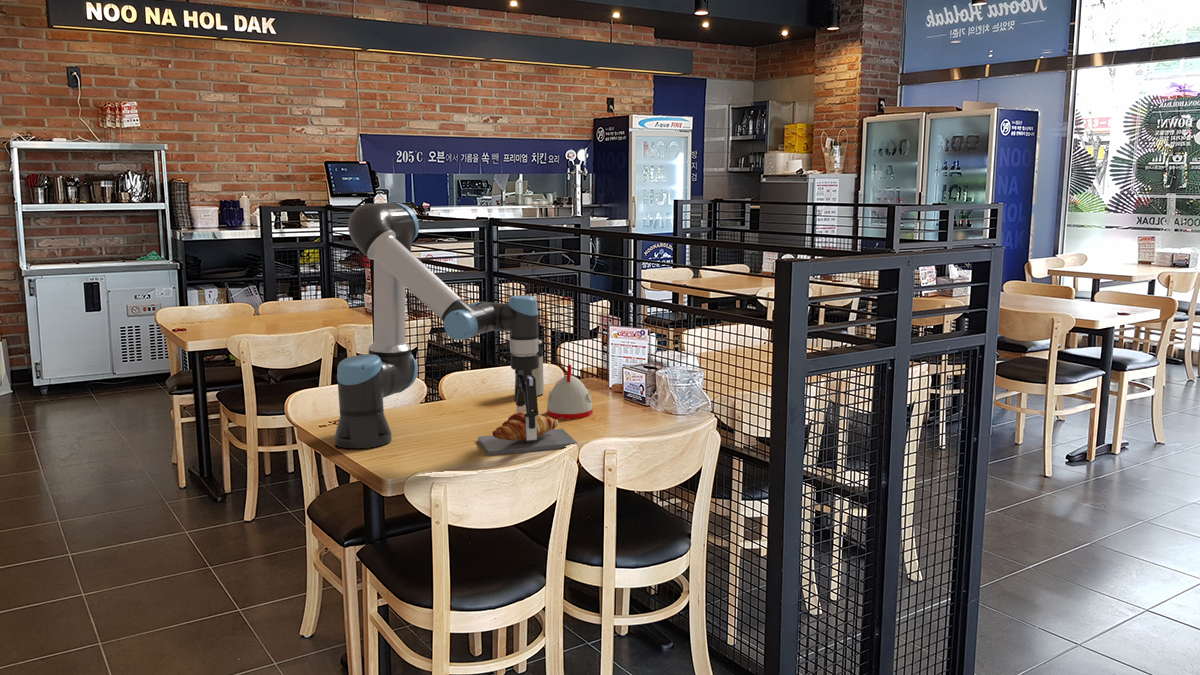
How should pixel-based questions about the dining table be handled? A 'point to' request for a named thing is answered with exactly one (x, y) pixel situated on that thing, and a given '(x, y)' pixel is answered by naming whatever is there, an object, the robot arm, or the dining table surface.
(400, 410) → the dining table surface
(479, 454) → the dining table surface
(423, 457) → the dining table surface
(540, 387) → the travel mug
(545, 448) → the slate board
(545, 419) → the croissant
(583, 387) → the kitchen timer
